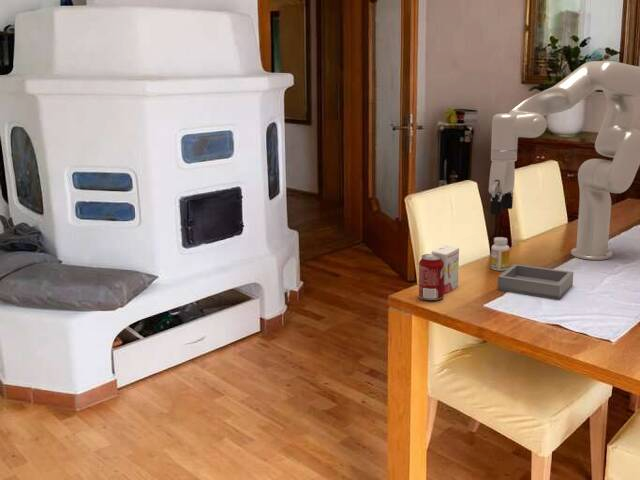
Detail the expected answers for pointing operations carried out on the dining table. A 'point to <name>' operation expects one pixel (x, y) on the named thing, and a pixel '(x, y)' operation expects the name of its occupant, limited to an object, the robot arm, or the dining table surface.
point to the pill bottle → (500, 254)
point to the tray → (536, 281)
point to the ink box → (449, 266)
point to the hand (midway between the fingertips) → (501, 211)
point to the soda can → (431, 277)
